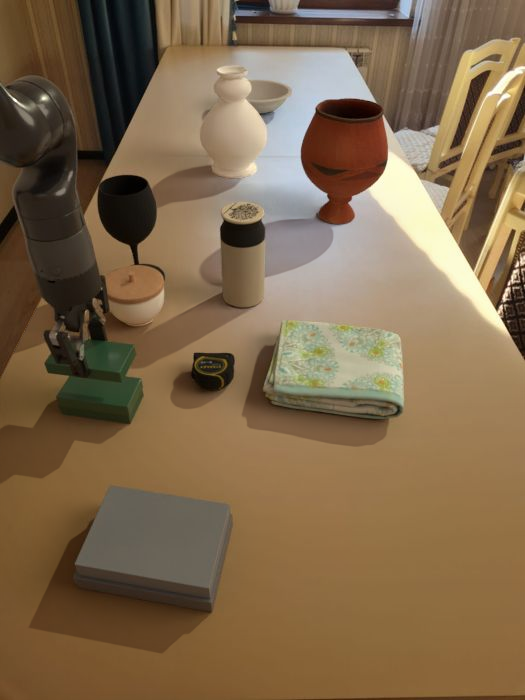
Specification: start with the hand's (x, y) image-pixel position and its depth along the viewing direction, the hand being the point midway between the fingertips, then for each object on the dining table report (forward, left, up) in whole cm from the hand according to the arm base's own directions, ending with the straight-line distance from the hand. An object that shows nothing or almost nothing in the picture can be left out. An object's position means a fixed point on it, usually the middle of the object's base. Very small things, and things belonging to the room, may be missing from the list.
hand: (91, 359), depth 77 cm
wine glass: (-6, +33, -10) cm, 35 cm away
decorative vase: (+2, +90, -10) cm, 90 cm away
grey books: (+16, -22, -9) cm, 29 cm away
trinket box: (-2, +22, -10) cm, 24 cm away
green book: (0, 0, -1) cm, 1 cm away
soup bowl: (-1, +138, -10) cm, 138 cm away
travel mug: (+16, +32, -9) cm, 37 cm away
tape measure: (+15, +9, -10) cm, 20 cm away
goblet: (+31, +68, -10) cm, 75 cm away
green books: (0, 0, -9) cm, 9 cm away
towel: (+35, +13, -9) cm, 38 cm away
